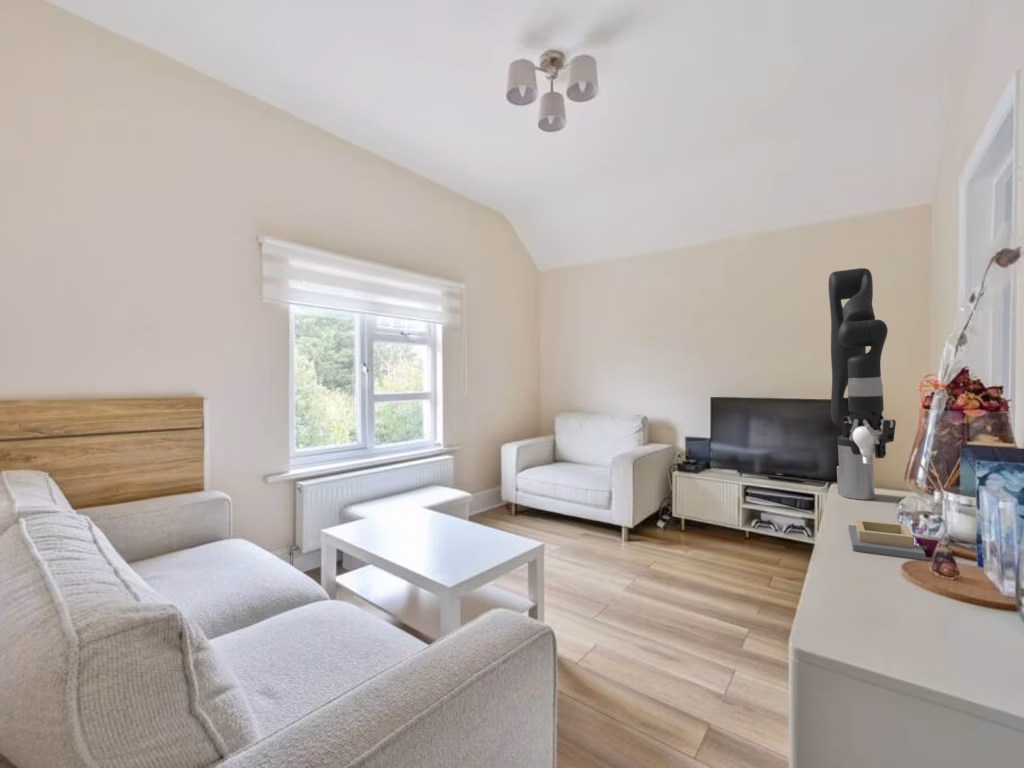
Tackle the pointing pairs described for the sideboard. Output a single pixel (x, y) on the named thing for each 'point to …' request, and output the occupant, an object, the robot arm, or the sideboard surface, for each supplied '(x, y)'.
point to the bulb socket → (884, 539)
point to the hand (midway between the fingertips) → (868, 455)
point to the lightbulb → (865, 444)
